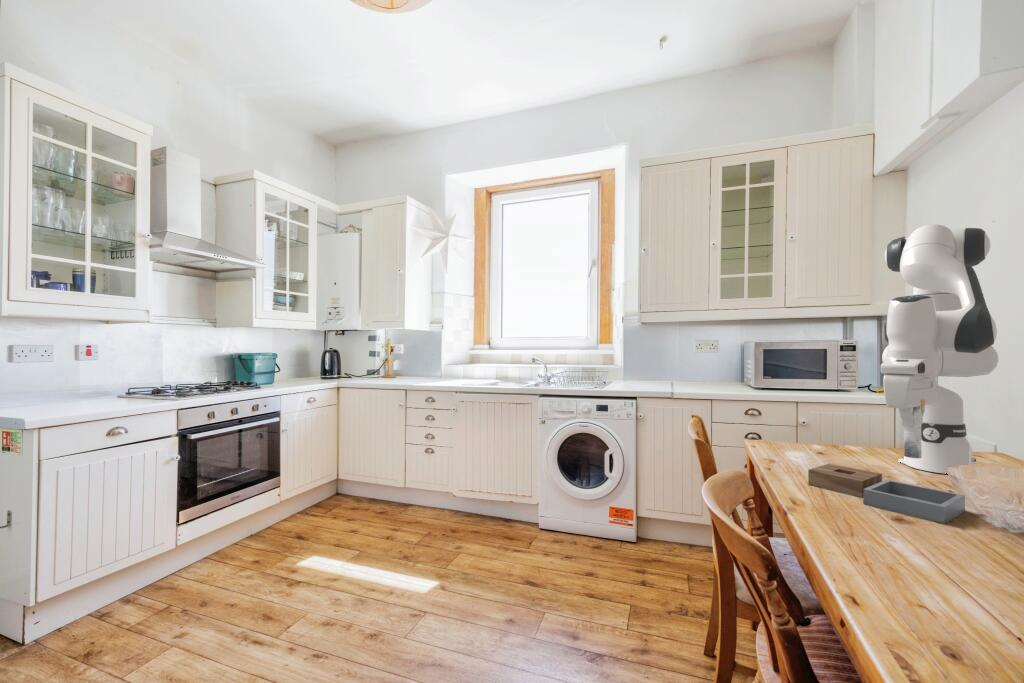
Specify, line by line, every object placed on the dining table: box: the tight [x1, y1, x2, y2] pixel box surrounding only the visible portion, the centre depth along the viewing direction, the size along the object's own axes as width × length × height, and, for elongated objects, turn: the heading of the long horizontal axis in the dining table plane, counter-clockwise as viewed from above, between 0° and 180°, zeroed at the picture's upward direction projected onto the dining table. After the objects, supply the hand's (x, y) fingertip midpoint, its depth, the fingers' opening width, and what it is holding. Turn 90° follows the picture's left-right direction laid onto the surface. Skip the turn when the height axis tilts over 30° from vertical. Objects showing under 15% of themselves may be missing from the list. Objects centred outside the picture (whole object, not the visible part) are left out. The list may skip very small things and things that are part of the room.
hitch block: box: [807, 463, 883, 498], centre depth 117 cm, size 12×12×4 cm
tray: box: [863, 479, 966, 525], centre depth 102 cm, size 14×14×4 cm
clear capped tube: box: [903, 400, 925, 458], centre depth 102 cm, size 4×4×13 cm
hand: (912, 425), depth 102 cm, fingers closed on clear capped tube, 4 cm apart
